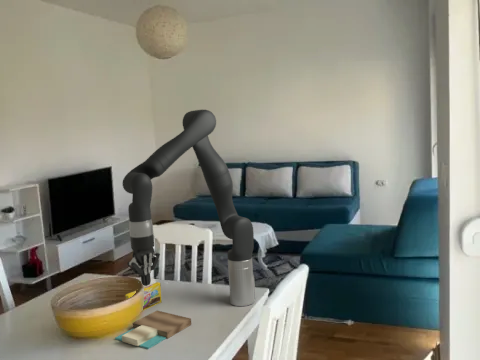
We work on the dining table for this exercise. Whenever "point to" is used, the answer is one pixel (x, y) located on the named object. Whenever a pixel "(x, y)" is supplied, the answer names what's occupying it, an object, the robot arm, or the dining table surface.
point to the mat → (148, 343)
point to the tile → (139, 335)
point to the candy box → (149, 295)
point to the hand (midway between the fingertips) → (146, 284)
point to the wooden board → (164, 323)
